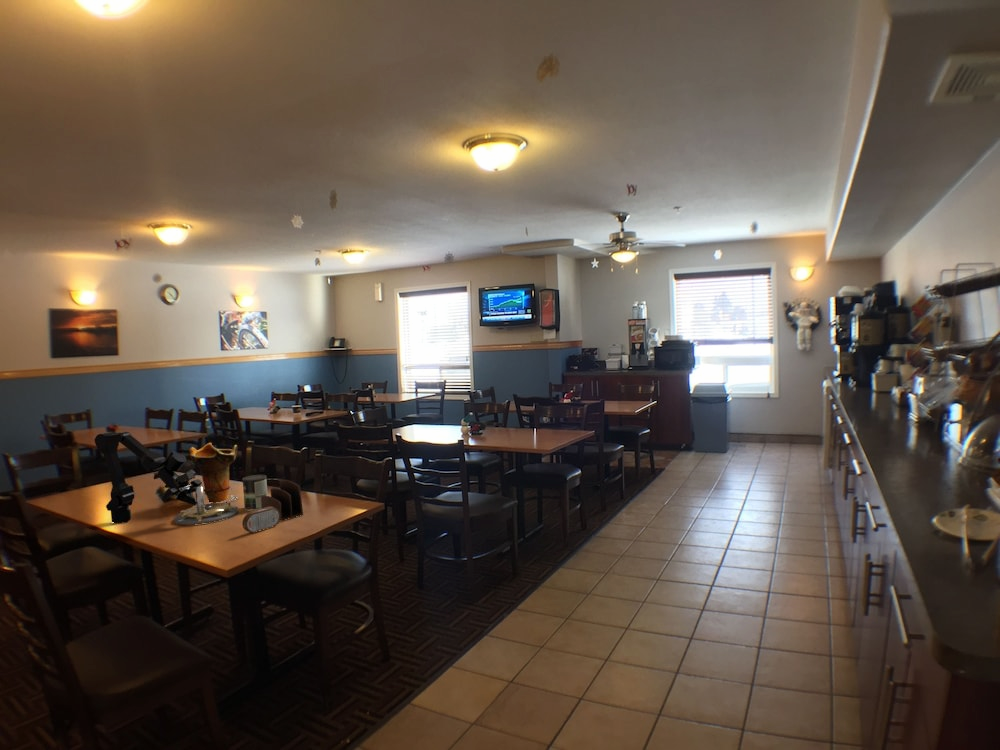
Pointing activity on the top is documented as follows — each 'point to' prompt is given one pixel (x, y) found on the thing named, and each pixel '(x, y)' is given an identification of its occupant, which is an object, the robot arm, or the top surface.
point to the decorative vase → (214, 470)
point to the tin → (261, 519)
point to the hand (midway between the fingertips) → (195, 504)
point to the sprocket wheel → (204, 507)
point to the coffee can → (254, 491)
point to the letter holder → (285, 500)
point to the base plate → (205, 520)
